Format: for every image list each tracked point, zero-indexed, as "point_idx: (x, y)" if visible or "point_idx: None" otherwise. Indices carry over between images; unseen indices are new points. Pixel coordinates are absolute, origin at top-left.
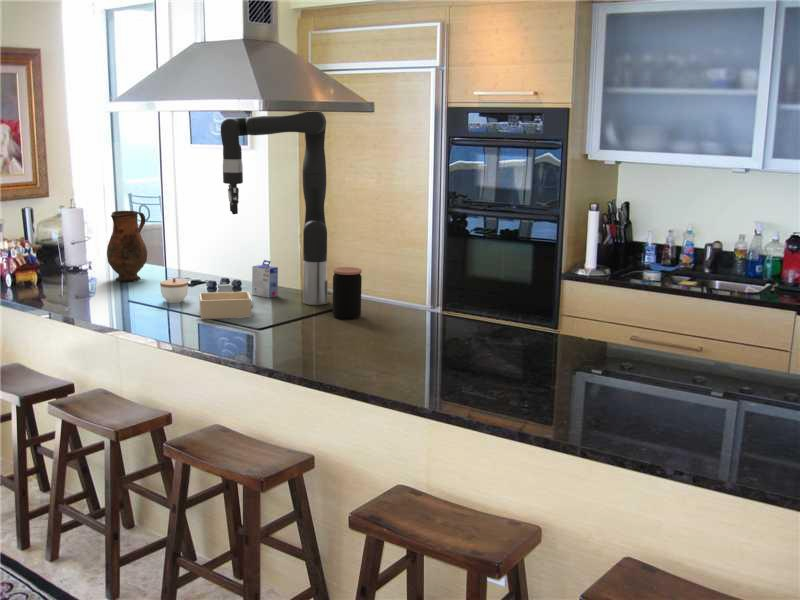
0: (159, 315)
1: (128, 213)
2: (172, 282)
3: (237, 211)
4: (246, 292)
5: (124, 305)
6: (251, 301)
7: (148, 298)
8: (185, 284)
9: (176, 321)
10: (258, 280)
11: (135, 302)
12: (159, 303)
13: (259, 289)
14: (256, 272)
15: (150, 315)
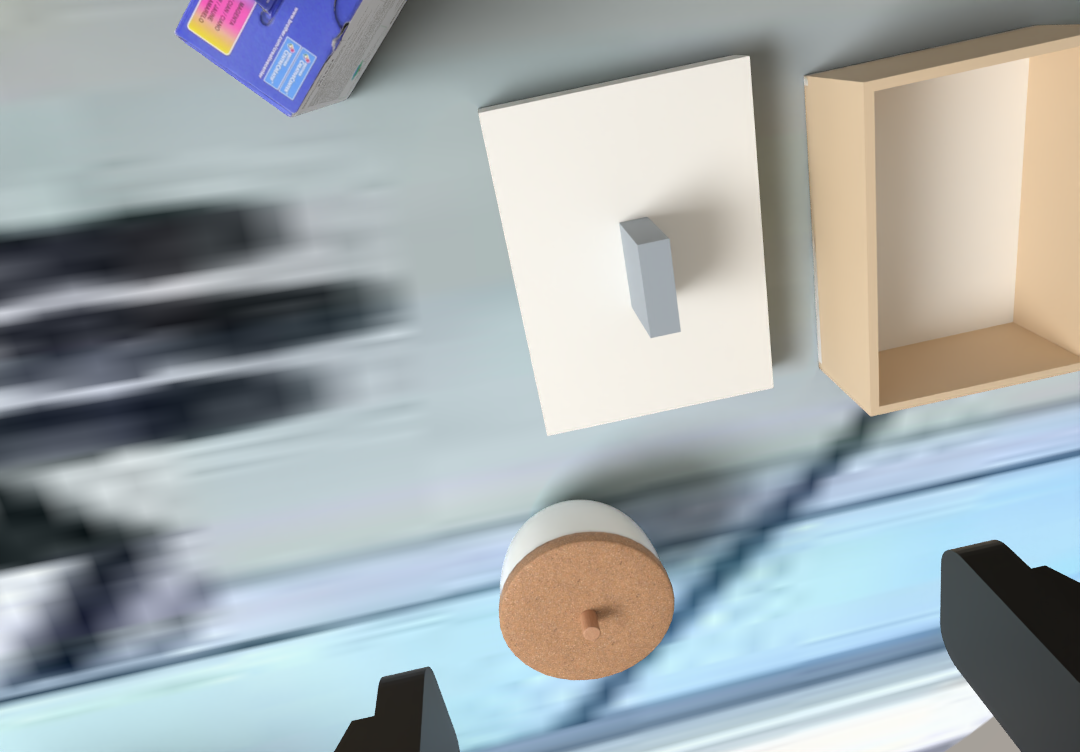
0: (887, 534)
1: None
2: (614, 619)
3: (1029, 575)
4: (872, 92)
5: (668, 715)
6: (748, 59)
7: (513, 665)
8: (628, 543)
9: (1024, 435)
10: (360, 41)
11: (606, 692)
12: None
13: (378, 31)
14: (334, 64)
15: (880, 570)
